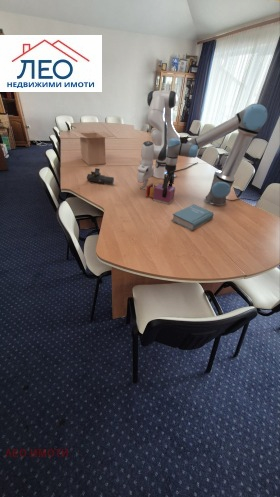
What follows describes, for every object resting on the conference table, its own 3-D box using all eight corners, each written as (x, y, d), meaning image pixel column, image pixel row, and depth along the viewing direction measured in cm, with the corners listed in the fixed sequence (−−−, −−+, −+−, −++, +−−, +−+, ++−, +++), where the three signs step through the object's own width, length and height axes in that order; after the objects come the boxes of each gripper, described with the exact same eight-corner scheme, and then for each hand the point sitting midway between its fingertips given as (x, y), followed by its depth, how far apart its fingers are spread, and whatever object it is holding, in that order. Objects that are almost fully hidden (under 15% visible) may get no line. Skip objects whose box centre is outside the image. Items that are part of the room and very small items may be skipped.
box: (116, 165, 229) (116, 136, 213) (83, 168, 214) (80, 137, 198) (102, 154, 259) (101, 128, 243) (71, 156, 244) (68, 129, 228)
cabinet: (153, 200, 165) (154, 187, 159) (158, 195, 173) (159, 183, 167) (168, 204, 161) (170, 191, 155) (173, 199, 168) (175, 187, 163)
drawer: (139, 195, 169) (139, 185, 165) (144, 191, 176) (145, 181, 171) (159, 200, 163) (161, 190, 159) (164, 196, 170) (165, 186, 165)
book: (192, 210, 154) (193, 204, 151) (212, 219, 146) (214, 212, 143) (171, 220, 141) (173, 213, 138) (192, 231, 132) (194, 224, 129)
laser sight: (111, 186, 182) (110, 174, 176) (85, 182, 185) (84, 170, 179) (114, 182, 190) (114, 170, 184) (89, 179, 192) (88, 167, 186)
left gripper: (148, 162, 168) (147, 180, 176) (136, 169, 153) (135, 188, 162) (156, 163, 166) (154, 181, 174) (144, 171, 151) (143, 190, 159)
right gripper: (171, 159, 160) (167, 188, 173) (159, 166, 143) (156, 198, 156) (181, 161, 157) (176, 191, 170) (170, 169, 141) (165, 201, 154)
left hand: (145, 185), depth 168 cm, fingers closed
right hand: (166, 194), depth 163 cm, fingers closed on cabinet, 10 cm apart
